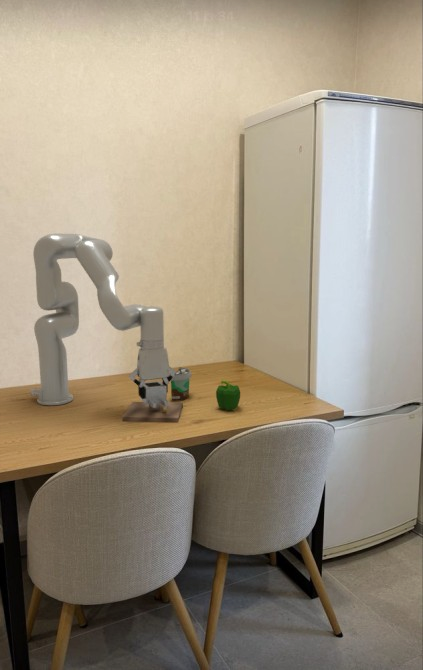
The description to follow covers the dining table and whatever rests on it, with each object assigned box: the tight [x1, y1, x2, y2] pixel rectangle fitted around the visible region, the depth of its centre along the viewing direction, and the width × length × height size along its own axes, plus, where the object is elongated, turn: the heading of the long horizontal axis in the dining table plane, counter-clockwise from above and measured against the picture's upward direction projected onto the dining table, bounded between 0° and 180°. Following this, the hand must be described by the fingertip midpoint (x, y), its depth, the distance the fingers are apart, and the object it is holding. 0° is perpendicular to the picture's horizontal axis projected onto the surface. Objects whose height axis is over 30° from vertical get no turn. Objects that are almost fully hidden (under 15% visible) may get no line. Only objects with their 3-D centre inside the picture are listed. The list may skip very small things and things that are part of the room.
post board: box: [121, 401, 184, 423], centre depth 177 cm, size 18×16×6 cm
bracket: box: [139, 380, 169, 408], centre depth 175 cm, size 11×7×6 cm, turn 25°
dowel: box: [163, 405, 167, 414], centre depth 174 cm, size 1×1×2 cm
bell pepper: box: [215, 379, 241, 411], centre depth 182 cm, size 8×8×10 cm
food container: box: [170, 366, 192, 402], centre depth 195 cm, size 12×6×10 cm, turn 168°
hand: (153, 396), depth 177 cm, fingers closed on bracket, 7 cm apart
